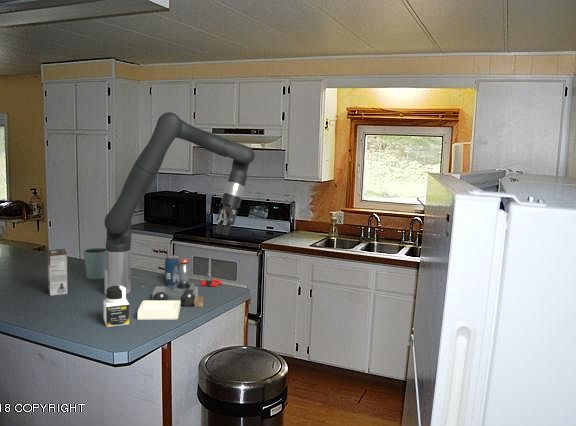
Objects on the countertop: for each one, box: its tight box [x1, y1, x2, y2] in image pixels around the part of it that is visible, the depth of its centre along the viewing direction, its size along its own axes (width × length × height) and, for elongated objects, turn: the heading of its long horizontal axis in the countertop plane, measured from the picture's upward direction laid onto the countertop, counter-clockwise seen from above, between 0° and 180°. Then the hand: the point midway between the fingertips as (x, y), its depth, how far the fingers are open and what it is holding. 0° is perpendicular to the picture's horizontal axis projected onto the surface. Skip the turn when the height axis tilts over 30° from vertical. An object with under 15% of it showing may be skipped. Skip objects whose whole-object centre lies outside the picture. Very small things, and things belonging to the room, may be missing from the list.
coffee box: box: [46, 248, 68, 296], centre depth 190 cm, size 9×6×16 cm
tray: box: [137, 299, 181, 321], centre depth 171 cm, size 13×11×3 cm
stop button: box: [178, 257, 191, 288], centre depth 185 cm, size 4×4×12 cm
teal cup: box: [82, 247, 106, 280], centre depth 213 cm, size 10×10×12 cm
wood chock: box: [194, 296, 204, 308], centre depth 181 cm, size 3×2×3 cm
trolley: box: [151, 283, 199, 308], centre depth 185 cm, size 16×12×6 cm
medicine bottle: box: [103, 285, 130, 328], centre depth 161 cm, size 7×7×12 cm
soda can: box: [164, 254, 181, 286], centre depth 207 cm, size 7×7×12 cm
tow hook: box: [200, 255, 222, 288], centre depth 210 cm, size 8×13×9 cm
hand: (221, 233), depth 194 cm, fingers open, 8 cm apart
